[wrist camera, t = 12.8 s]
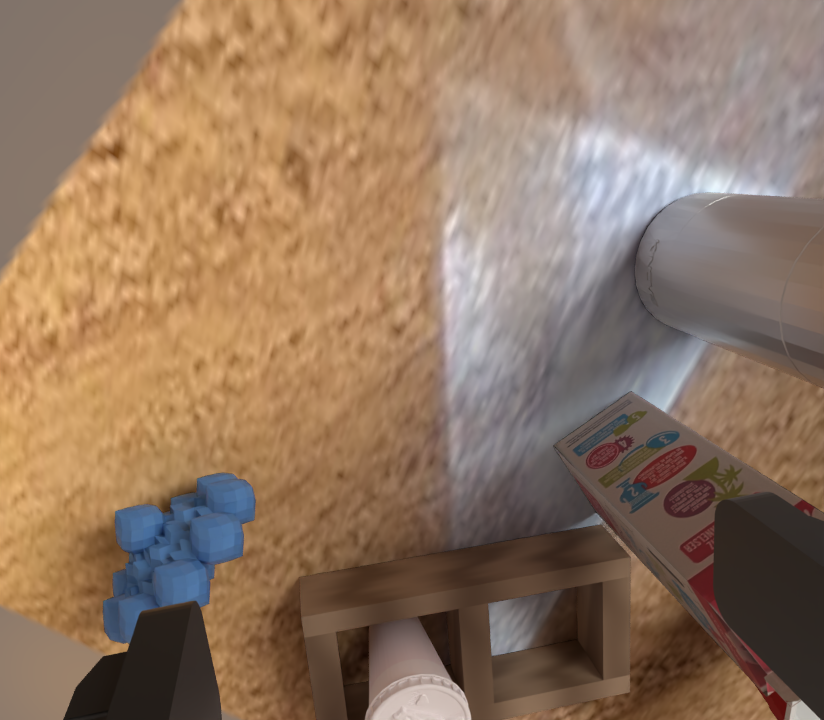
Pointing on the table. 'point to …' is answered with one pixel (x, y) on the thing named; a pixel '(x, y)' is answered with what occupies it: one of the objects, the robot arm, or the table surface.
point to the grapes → (176, 549)
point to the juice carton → (670, 507)
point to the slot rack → (482, 621)
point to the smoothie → (410, 676)
